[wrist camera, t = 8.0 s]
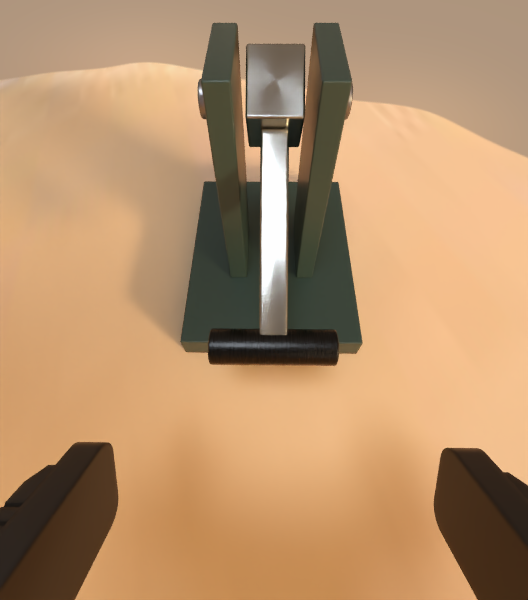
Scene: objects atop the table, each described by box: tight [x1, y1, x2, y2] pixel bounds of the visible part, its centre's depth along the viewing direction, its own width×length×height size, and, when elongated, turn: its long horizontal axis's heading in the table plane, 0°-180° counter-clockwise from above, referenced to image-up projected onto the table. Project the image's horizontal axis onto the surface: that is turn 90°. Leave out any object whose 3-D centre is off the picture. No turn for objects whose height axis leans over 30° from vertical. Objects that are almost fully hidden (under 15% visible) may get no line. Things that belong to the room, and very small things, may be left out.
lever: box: [208, 44, 339, 366], centre depth 14 cm, size 12×5×2 cm, turn 179°
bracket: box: [181, 23, 362, 353], centre depth 18 cm, size 13×10×13 cm
